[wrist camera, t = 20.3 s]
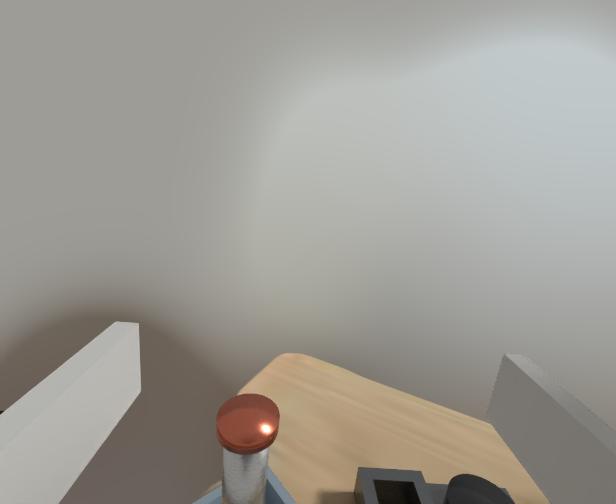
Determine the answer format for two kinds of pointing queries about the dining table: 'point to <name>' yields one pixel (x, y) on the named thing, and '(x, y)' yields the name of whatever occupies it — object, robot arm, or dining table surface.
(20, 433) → the robot arm
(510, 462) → the dining table surface
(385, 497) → the bracket
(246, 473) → the lock pin
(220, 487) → the tray
